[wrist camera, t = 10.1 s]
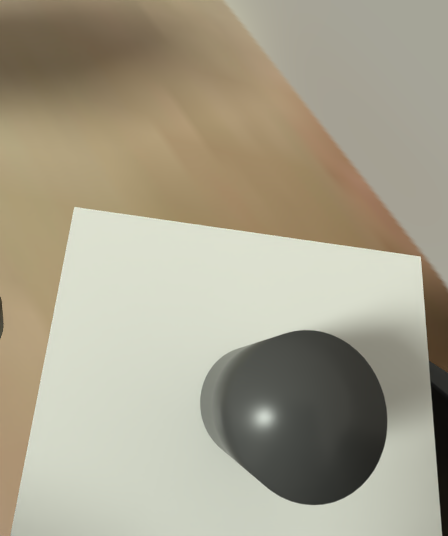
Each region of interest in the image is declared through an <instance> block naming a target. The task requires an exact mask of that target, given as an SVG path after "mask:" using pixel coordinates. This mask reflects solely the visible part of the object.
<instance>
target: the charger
mask: <svg viewBox="0 0 448 536" xmlns="http://www.w3.org/2000/svg"><path fill="white" fill-rule="evenodd" d="M10 536H442V528H441V515H440V502H439V489H438V476H437V463H436V450H435V437H434V424H433V411H432V398H431V385H430V371H429V358H428V345H427V332H426V319H425V306H424V293H423V280H422V267H421V257H419V256H412V255H405V254H398V253H391V252H384V251H377V250H370V249H363V248H356V247H349V246H342V245H335V244H328V243H321V242H314V241H307V240H300V239H294V238H287V237H280V236H273V235H266V234H259V233H252V232H245V231H238V230H231V229H224V228H217V227H210V226H203V225H196V224H189V223H182V222H175V221H168V220H161V219H154V218H147V217H140V216H133V215H126V214H119V213H112V212H105V211H98V210H91V209H84V208H77V207H74V212H73V217H72V222H71V227H70V232H69V238H68V243H67V248H66V253H65V258H64V263H63V268H62V274H61V279H60V284H59V289H58V294H57V299H56V304H55V309H54V315H53V320H52V325H51V330H50V335H49V340H48V345H47V351H46V356H45V361H44V366H43V371H42V376H41V381H40V387H39V392H38V397H37V402H36V407H35V412H34V417H33V422H32V428H31V433H30V438H29V443H28V448H27V453H26V458H25V464H24V469H23V474H22V479H21V484H20V489H19V494H18V499H17V505H16V510H15V515H14V520H13V525H12V530H11V535H10Z"/></svg>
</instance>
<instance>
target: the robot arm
mask: <svg viewBox="0 0 448 536" xmlns="http://www.w3.org/2000/svg"><path fill="white" fill-rule="evenodd" d="M2 332H3V312H2V301H1V297H0V338H1V336H2ZM429 371H430V385H431V398H432V411H433V424H434V437H435V450H436V463H437V476H438V489H439V502H440V515H441V528H442V536H448V373H447V372H445V371H444V370H442V369H441V368H439V367H438V366H436V365H435V364H433V363H432V362H430V361H429Z"/></svg>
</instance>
